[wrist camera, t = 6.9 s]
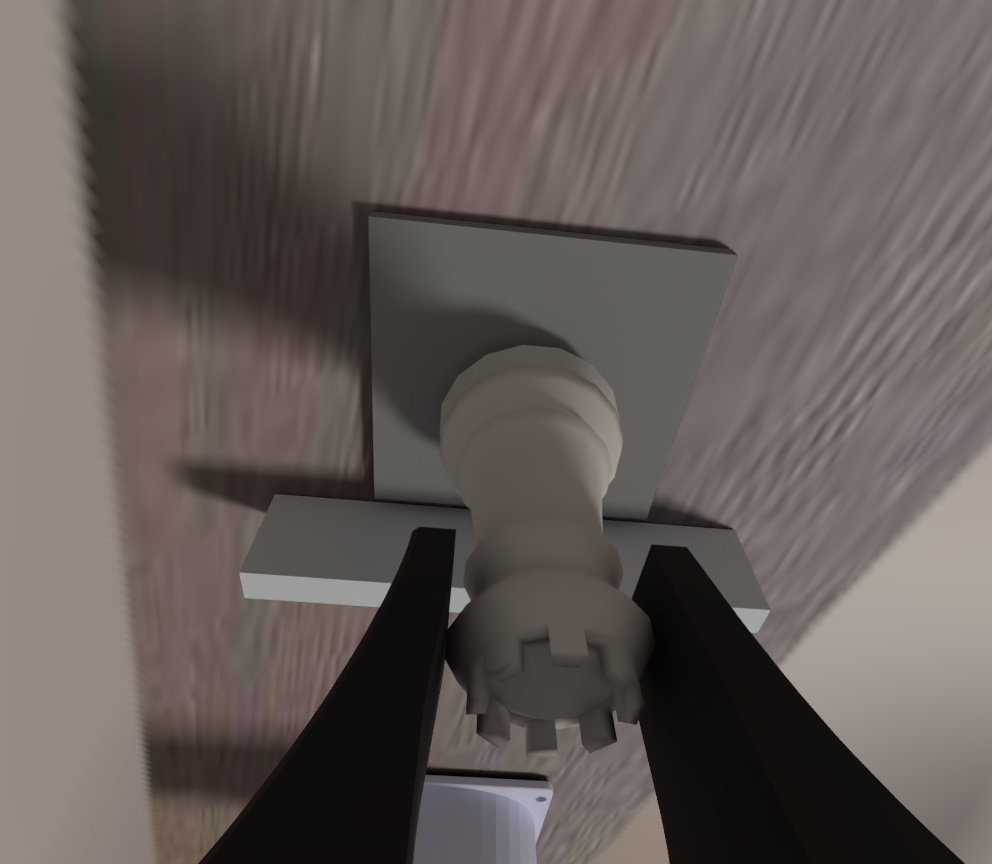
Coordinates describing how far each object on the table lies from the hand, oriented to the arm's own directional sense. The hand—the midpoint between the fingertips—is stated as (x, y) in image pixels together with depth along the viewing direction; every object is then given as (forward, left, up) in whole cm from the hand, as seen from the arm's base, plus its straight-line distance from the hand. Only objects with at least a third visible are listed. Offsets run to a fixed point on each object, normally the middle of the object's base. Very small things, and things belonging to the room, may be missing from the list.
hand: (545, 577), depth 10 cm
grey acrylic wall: (-5, 0, -6) cm, 8 cm away
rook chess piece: (-1, 0, -6) cm, 6 cm away
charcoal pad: (0, 0, -6) cm, 6 cm away
